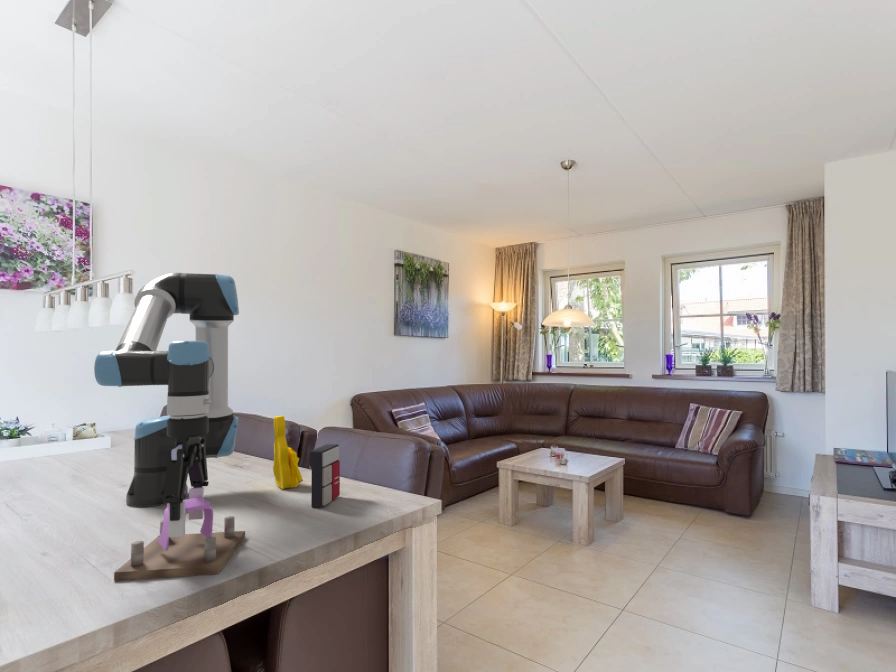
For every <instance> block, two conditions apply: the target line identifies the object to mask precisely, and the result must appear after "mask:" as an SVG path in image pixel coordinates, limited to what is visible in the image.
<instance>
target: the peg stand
mask: <svg viewBox="0 0 896 672" xmlns="http://www.w3.org/2000/svg"><path fill="white" fill-rule="evenodd" d="M235 519H236V518H235V516H234V515H233V516H232V515H231V516H226V517H224V531H218V532H212V537H208V538H207V537H206V536H204V535H203V534H202V533H201V532H198V533H185V535H184V536H183V537H169V544H168V550H167V551H165V550H164V549H163V548H162V547H161V545H160V544H159V543H158V539H159V536H160V534H161V531H162V527H163V520H160V522H159V535H158V536H156V537H155V538H154V539H153V540H152V541H150V543H148V544H147V545H146V546H145V544H144V543H145V541H144V540H136V541H133V542H131V544H130V559H129V560H127V561H126V562H124V564H122V565H121V566H120V567H118V568H117V569H116V570H115V571H114V572H113V581H114V580H118V581H128V580H129V581H131V580H130V579H133V580H146V579H159V578H176V577H178V578H179V577H189V576H192V577H193V576H205V575H219V574H220V573H221V572H222V570H223V569H224V567H225V566H226V564H227V563H228V562H229V560H230V559H231V558H232V556H233V555H234V554H235V553H236V552H237V550H238V548H239V547H240V545H241V544H242V543H243V541H244V540H245V539H246V531H245V530H239V531H237V530H236V531H235V526H236V525H235V521H236V520H235Z"/></svg>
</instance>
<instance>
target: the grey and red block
mask: <svg viewBox="0 0 896 672" xmlns="http://www.w3.org/2000/svg"><path fill="white" fill-rule="evenodd" d="M339 459H340V446H339V444H335V443H334V444H333V443H332V444H331V443H328V444H324V445H322V446H319V447H317V448H314V449H312V450H309V467H310V469H311V502H310V503H311V508H316V509H317V508H318V509H322V508H324V507H326V506H327V505H328V504H330V503H331V502H333V501H334V500H335V498H336V499H337V498H338V497H339V496H340V495H341V491H340V490H341V487H340V486H341V483H340V482H341V470H340V469H341V467H340V466H341V463H340V462H341V461H340V460H339Z"/></svg>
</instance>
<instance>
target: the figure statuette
mask: <svg viewBox="0 0 896 672" xmlns="http://www.w3.org/2000/svg"><path fill="white" fill-rule="evenodd" d="M285 420H286V419H285V416H284V415H277V416H275V415H274V417H273V431H274V433H273V434H274V443H273V453H274V454H273V455H274V457H273V466H272V470H273V475H274V479H275V485H276V486H277V487H278V488H280V489H282V490H284V489H288V488H290V489H291V488H298V487H297V486H299V484H300V483H302V482H304V479H303V476H302V474H301V471H300V469H299V465H298V463H299V460H300V457H298V453H297V452H296V451H295V450H294V449H293V448H292V447H289V446H288V442H287V439H286V428H287V427H286V421H285Z"/></svg>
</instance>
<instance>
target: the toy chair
mask: <svg viewBox="0 0 896 672" xmlns="http://www.w3.org/2000/svg"><path fill="white" fill-rule="evenodd" d="M185 493H186V491H185ZM185 493H184V494H185ZM173 496H174V495H173ZM183 501H185V514H186V513H189V512H190V511H194V510H200V509H203V522H202V525H201V528H200V531H199V533H202V534H203V535H204V536H206V537H207V538H208V537H212V533H213V526H214V525H213V524H214V509H213V507H212V506H211V505H212V504H211V502H210V501H209V500H208V501H207V500H206V499H205V497H204V498H202V497H201V496H200V497H195V498H191V499H189V498H188V499H183ZM162 521H163V527H162V531H161V534H160V533H159V535H158V536H159V539H158V543H159V544H160V545H161V547H162V548H163V549H164V550H165V551H167V550H168V544H169V537H168V528H169V504H166V508H165V509H164V512H163V520H162Z"/></svg>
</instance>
